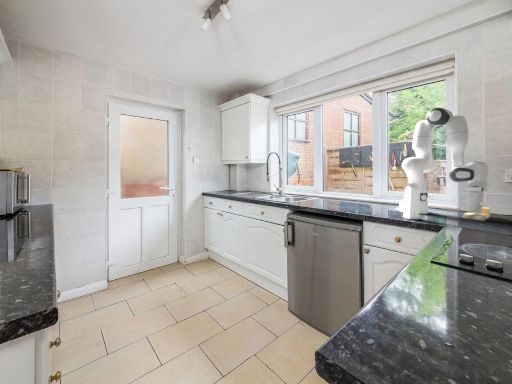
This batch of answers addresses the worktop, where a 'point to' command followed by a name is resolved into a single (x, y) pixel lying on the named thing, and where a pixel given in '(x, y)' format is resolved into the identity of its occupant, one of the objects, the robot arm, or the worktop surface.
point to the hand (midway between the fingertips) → (475, 210)
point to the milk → (411, 201)
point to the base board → (475, 216)
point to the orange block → (486, 211)
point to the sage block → (478, 211)
